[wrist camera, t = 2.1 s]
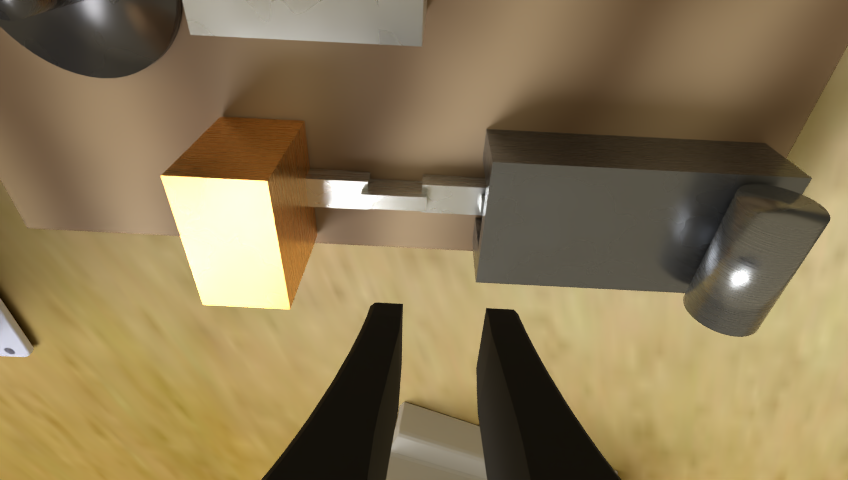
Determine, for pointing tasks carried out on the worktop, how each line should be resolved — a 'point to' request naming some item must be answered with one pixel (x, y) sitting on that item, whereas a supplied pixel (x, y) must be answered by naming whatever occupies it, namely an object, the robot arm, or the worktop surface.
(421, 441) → the light grey piece
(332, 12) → the grey recessed block
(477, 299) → the worktop surface
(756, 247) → the chain housing
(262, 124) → the chain slider
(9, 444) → the worktop surface
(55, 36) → the post
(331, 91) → the deck plank
